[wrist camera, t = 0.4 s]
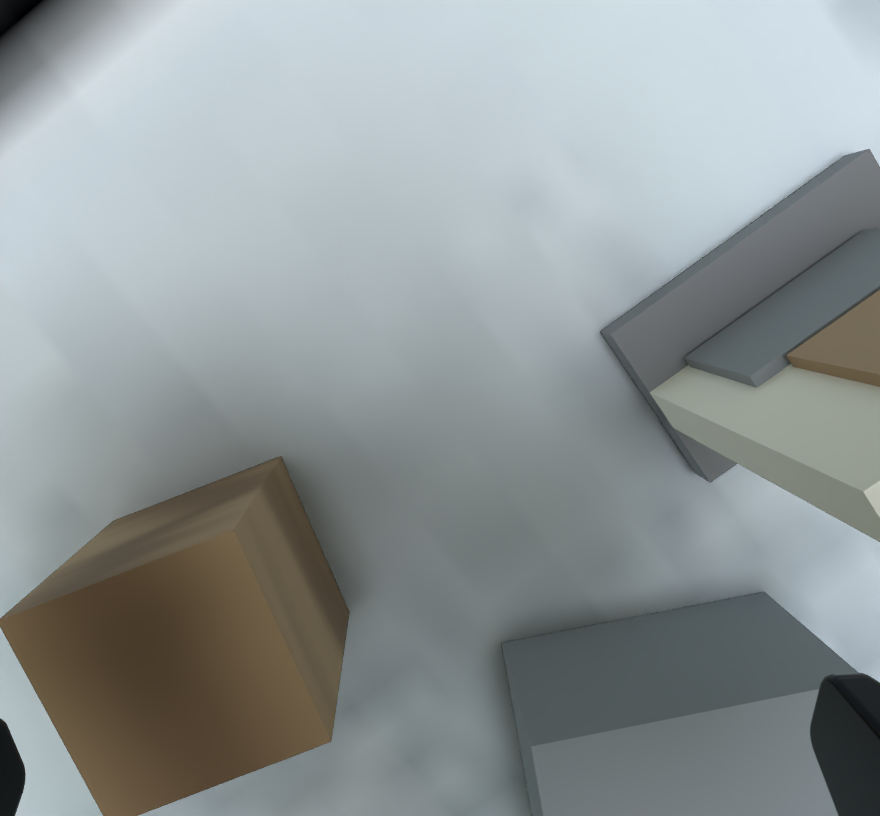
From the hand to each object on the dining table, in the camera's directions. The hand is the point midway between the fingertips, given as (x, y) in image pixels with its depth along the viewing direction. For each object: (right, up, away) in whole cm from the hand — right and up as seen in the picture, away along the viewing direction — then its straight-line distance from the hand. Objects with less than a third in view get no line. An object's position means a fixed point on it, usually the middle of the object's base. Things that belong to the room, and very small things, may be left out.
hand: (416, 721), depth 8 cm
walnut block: (-6, -1, +13) cm, 14 cm away
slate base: (+7, -7, +14) cm, 17 cm away
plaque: (+9, +6, +12) cm, 16 cm away
